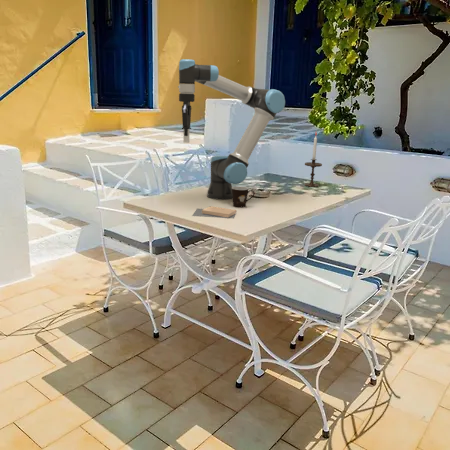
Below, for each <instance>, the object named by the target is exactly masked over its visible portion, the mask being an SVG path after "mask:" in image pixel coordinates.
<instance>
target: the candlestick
mask: <svg viewBox="0 0 450 450" xmlns="http://www.w3.org/2000/svg"><path fill="white" fill-rule="evenodd" d="M317 143H318V138H317V131H315V136H314V138H313V147H312V158H311V159H310V160H311V162H305V163H304V166H305V167H306V166H307V167H310V168H311V173H310V175H309V176H310V181H309V182H306V183H304V186H305V187H307V186H308V187H307V188H319V187H318V186H320V185H319V183H314V179H315V175H316V174H315V169H316V168H317V167H318V168H319V167H323V164H322V163H320V162H316V161H317V157H316V155H317Z"/></svg>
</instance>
